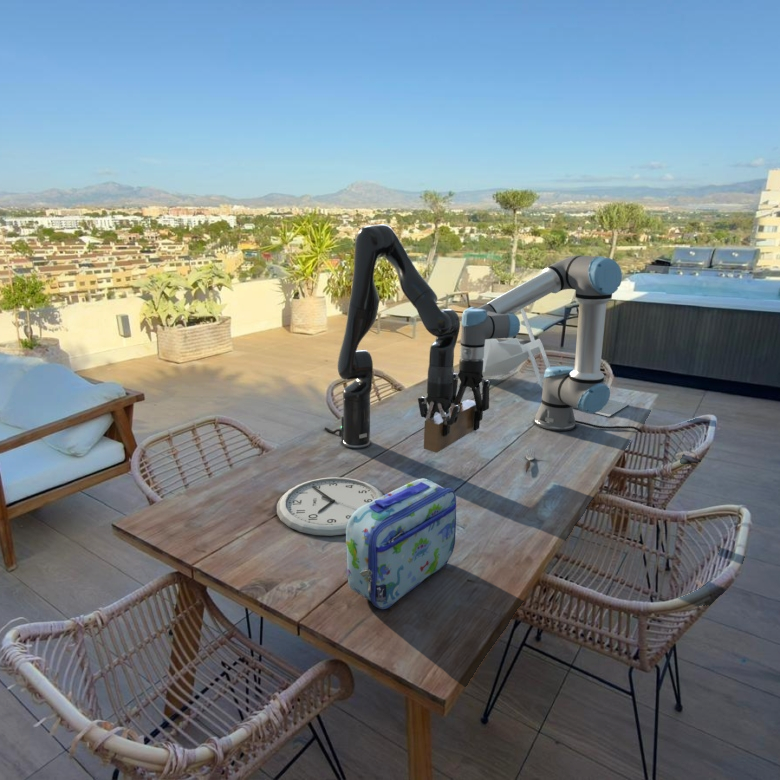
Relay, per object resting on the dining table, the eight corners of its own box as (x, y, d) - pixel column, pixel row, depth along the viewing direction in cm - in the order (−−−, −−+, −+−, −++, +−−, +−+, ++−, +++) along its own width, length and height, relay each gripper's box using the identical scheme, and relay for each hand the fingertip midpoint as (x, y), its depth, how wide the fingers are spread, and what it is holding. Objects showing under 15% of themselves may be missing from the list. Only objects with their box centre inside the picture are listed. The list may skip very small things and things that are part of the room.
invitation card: (608, 416, 214) (573, 407, 224) (608, 416, 214) (573, 408, 224) (628, 404, 229) (594, 396, 238) (628, 405, 229) (594, 397, 238)
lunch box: (375, 622, 100) (376, 527, 94) (339, 595, 108) (338, 505, 101) (459, 565, 118) (465, 481, 112) (424, 545, 125) (427, 465, 119)
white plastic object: (490, 419, 265) (470, 397, 240) (471, 347, 287) (451, 319, 262) (561, 395, 253) (548, 369, 228) (536, 321, 275) (521, 290, 250)
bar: (465, 424, 176) (467, 399, 174) (478, 427, 174) (480, 402, 171) (423, 448, 156) (424, 420, 154) (437, 452, 154) (438, 424, 151)
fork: (521, 473, 163) (522, 467, 162) (527, 453, 177) (527, 448, 177) (530, 474, 162) (530, 468, 162) (535, 454, 176) (535, 449, 176)
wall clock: (392, 527, 129) (268, 531, 127) (391, 533, 130) (269, 537, 127) (383, 473, 158) (282, 475, 155) (383, 478, 158) (282, 480, 156)
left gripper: (412, 377, 153) (410, 431, 158) (455, 386, 145) (452, 443, 150) (426, 372, 158) (424, 424, 164) (468, 380, 150) (464, 435, 155)
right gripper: (439, 356, 167) (436, 423, 174) (493, 365, 157) (488, 437, 164) (451, 351, 173) (447, 417, 180) (504, 361, 162) (498, 430, 169)
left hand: (437, 433), depth 157 cm, fingers closed on bar, 4 cm apart
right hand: (467, 426), depth 172 cm, fingers open, 6 cm apart
